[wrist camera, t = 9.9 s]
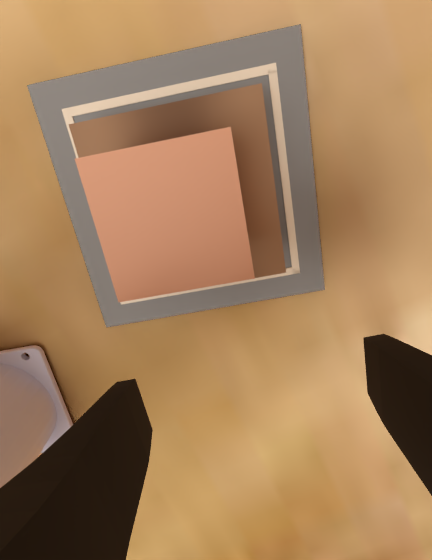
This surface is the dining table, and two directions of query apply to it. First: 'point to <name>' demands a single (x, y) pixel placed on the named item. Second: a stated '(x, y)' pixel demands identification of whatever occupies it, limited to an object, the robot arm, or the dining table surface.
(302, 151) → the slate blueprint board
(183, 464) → the dining table surface
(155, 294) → the terracotta block
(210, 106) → the walnut base block
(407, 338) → the dining table surface
